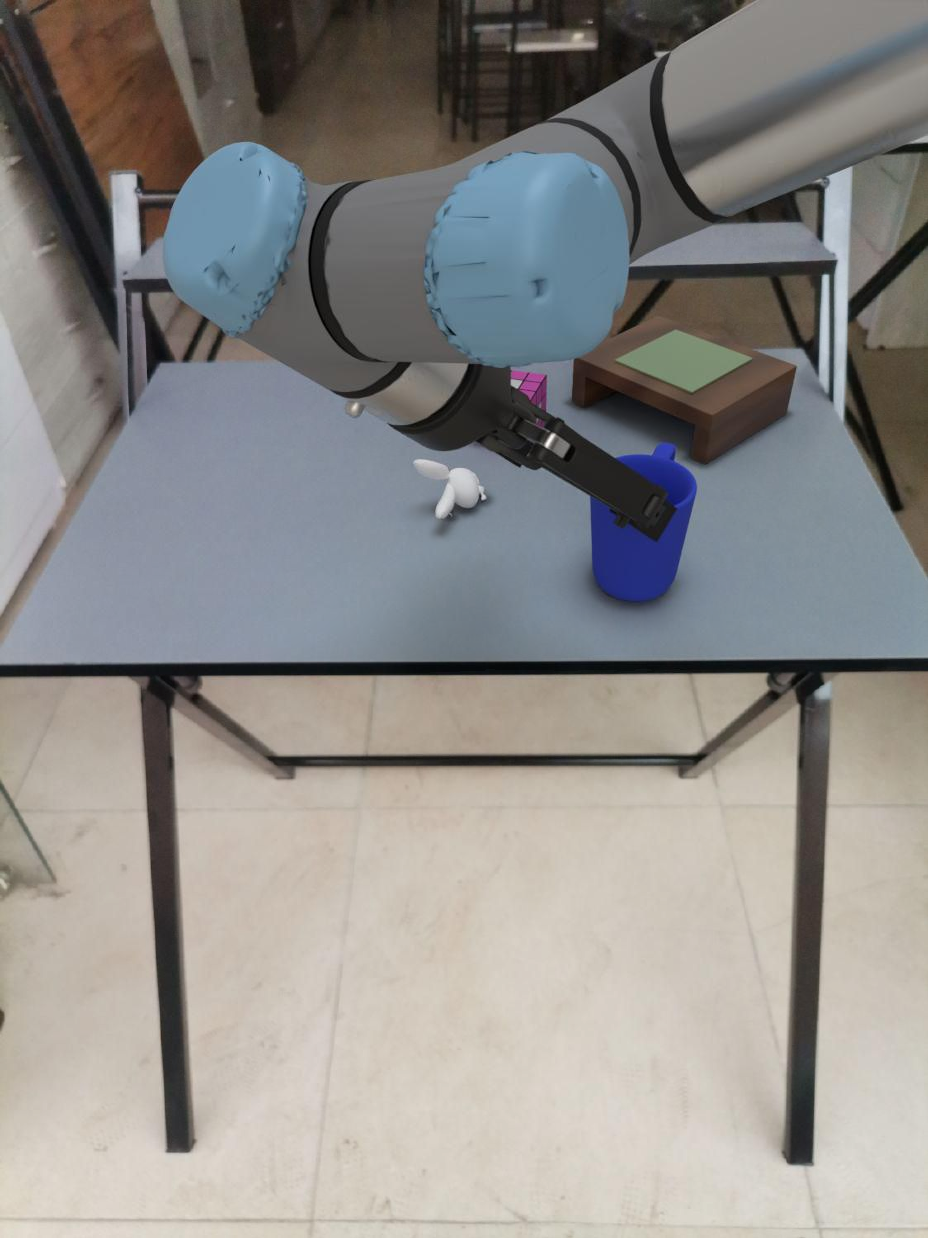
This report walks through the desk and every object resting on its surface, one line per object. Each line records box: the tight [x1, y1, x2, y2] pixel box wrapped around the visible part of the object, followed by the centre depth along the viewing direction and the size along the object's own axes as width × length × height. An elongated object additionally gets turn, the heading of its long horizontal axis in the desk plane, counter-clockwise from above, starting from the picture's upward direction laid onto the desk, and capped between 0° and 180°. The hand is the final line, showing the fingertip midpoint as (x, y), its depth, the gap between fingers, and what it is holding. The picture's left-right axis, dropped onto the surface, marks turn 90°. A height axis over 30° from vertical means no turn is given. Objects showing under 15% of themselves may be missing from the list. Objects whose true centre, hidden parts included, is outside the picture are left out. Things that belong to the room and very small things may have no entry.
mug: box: [589, 442, 698, 602], centre depth 76 cm, size 8×12×10 cm
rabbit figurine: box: [412, 458, 488, 520], centre depth 86 cm, size 6×4×8 cm
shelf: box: [571, 315, 798, 465], centre depth 97 cm, size 18×14×6 cm
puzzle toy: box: [511, 369, 548, 428], centre depth 95 cm, size 6×6×6 cm
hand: (590, 485), depth 68 cm, fingers open, 13 cm apart
